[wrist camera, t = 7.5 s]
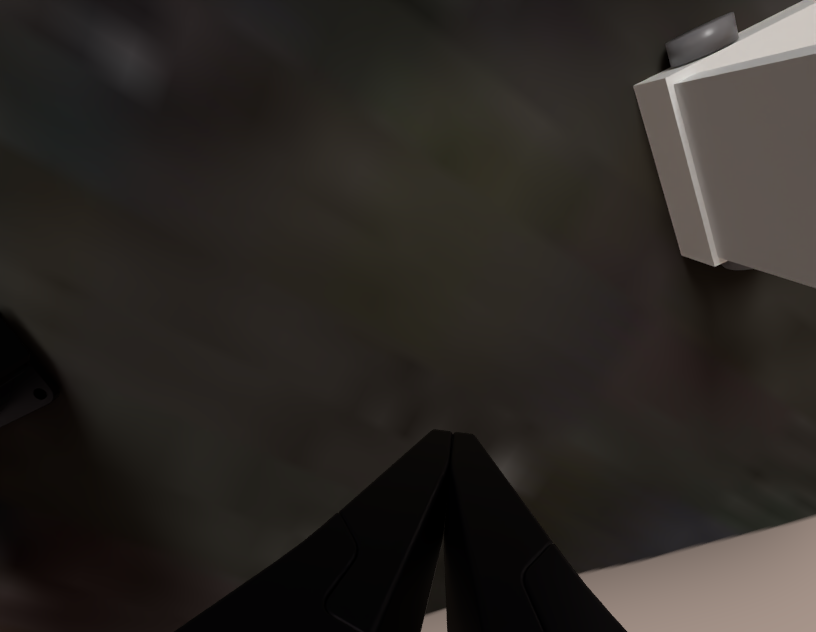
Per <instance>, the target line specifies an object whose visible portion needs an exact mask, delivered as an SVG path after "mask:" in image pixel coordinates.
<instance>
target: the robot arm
mask: <svg viewBox="0 0 816 632" xmlns="http://www.w3.org/2000/svg"><path fill="white" fill-rule="evenodd" d="M40 389H43V390H44V391H46V393H47V395H46V394H43V393H42V392H41V390H40ZM59 393H60V392H59V387H58V385H57V384H56V383H55V381H54V380H53V379H52V378H51V377H50V375H49V374H48V373H47V372H46V371H45V370H44V368H43V367H42V366H41V365H40V364H39V362H38V361H37V360H36V359H35V358H34V356H33V355H32V354H31V353H30V352H29V350H28V349H27V348H26V347H25V346H24V344H23V343H22V342H21V341H20V340H19V338H18V337H17V336H16V335H15V334H14V332H13V331H12V330H11V329H10V328H9V326H8V325H7V324H6V323H5V322H4V320H3V319H2V318H1V317H0V427H2V426H4V425H6V424H8V423H10V422H12V421H14V420H16V419H18V418H20V417H22V416H24V415H27V414H29V413H31V412H33V411H35V410H37V409H39V408H41V407H43V406H45V405H47V404H49V403H50V402H51V401H53V400H54V399H55V398H56V397H58V395H59ZM452 438H453V440H452ZM451 449H452V450H451ZM446 503H447V505H446ZM445 513H446V516H445ZM444 524H445V527H444ZM443 532H444V564H445V587H446V610H447V631H448V632H627V631H626V630H625V629H624V628H623V627H622V625H621V624H620V623H619V622H618V621H617V620H616V619H615V618H614V617H613V616H612V614H611V613H610V612H609V611H608V610H607V609H606V608H605V606H604V605H603V604H602V603H601V602H600V601H599V599H598V598H597V597H596V596H595V595H594V594H593V593H592V591H591V590H590V589H589V588H588V587H587V586H586V584H585V583H584V582H583V581H582V579H581V578H580V577H579V575H578V574H577V573H576V572H575V570H574V569H573V568H572V566H571V565H570V564H569V563H568V561H567V560H566V559H565V557H564V556H563V555H562V553H561V552H560V551H559V549H558V548H557V546H556V545H555V544H553V542H552V541H551V539H550V538H549V537H548V535H547V534H546V532H545V531H544V530H543V528H542V527H541V526H540V524H539V523H538V522H537V520H536V519H535V517H534V516H533V515H532V513H531V512H530V511H529V509H528V508H527V506H526V505H525V504H524V502H523V501H522V500H521V498H520V497H519V496H518V494H517V493H516V491H515V490H514V489H513V487H512V486H511V485H510V483H509V482H508V480H507V479H506V478H505V476H504V475H503V474H502V472H501V471H500V470H499V468H498V467H497V465H496V464H495V463H494V461H493V460H492V459H491V457H490V456H489V454H488V453H487V452H486V450H485V449H484V448H483V446H482V445H481V444H480V442H479V441H478V439H477V438H476V437H475V436H474V435H473V434H469V433H461V432H455V433H454V434H452V432H450V431H444V430H435V429H434V430H432V431H430V432H429V433H428V434H427V435H426V436H425V437H424V438H422V439H421V440H420V441H419V442H418V443H417V444H416V445H415V446H413V447H412V448H411V449H410V450H409V451H408V452H407V453H405V454H404V455H403V456H402V457H401V458H400V459H399V460H397V461H396V462H395V463H394V464H393V465H392V466H391V467H390V468H388V469H387V470H386V471H385V472H384V473H383V474H382V475H380V476H379V477H378V478H377V479H376V480H375V481H374V482H372V483H371V484H370V485H369V486H368V487H367V488H366V489H365V490H363V491H362V492H361V493H360V494H359V495H358V496H357V497H355V498H354V499H353V500H352V501H351V502H350V503H349V504H347V505H346V506H345V507H344V508H343V509H342V510H341V511H340V512H339V513H336V514H335V515H334V516H333V517H332V518H331V519H329V520H328V521H327V522H326V523H325V524H324V525H322V526H321V527H320V528H319V529H318V530H316V531H315V532H314V533H313V534H312V535H310V536H309V537H308V538H307V539H305V540H304V541H303V542H302V543H300V544H299V545H298V546H296V547H295V548H293V549H292V550H291V551H289V552H288V553H287V554H285V555H284V556H283V557H281V558H280V559H278V560H277V561H276V562H274V563H273V564H271V565H270V566H268V567H267V568H266V569H264V570H263V571H261V572H260V573H258V574H257V575H255V576H254V577H252V578H251V579H250V580H248V581H247V582H245V583H244V584H242V585H241V586H239V587H238V588H237V589H235V590H234V591H232V592H231V593H229V594H228V595H226V596H225V597H224V598H222V599H221V600H219V601H218V602H216V603H215V604H213V605H212V606H211V607H209V608H208V609H206V610H205V611H203V612H202V613H200V614H199V615H198V616H196V617H195V618H193V619H192V620H190V621H189V622H187V623H186V624H184V625H183V626H182V627H180V628H179V629H177V630H176V631H174V632H421V628H422V624H423V620H424V616H425V612H426V608H427V603H428V599H429V595H430V591H431V587H432V583H433V579H434V574H435V570H436V566H437V562H438V558H439V554H440V549H441V544H442V540H443Z"/></svg>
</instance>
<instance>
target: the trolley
mask: <svg viewBox="0 0 816 632" xmlns="http://www.w3.org/2000/svg"><path fill="white" fill-rule="evenodd" d="M665 46H666V49H667V53H668V57H669V61H670V65H671V67H670V68H668V69H666V70H664V71H662V72H660V73H658V74H656V75H654V76H652V77H650V78H648V79H646V80H644V81H642V82H640V83H638V84H636V85H634V86H633V87H634V91H635V94H636V98H637V101H638V105H639V108H640V112H641V115H642V119H643V122H644V126H645V129H646V133H647V136H648V140H649V143H650V147H651V150H652V154H653V157H654V161H655V164H656V168H657V171H658V175H659V178H660V182H661V185H662V189H663V192H664V196H665V199H666V203H667V206H668V210H669V213H670V217H671V220H672V224H673V227H674V231H675V235H676V238H677V242H678V245H679V249H680V252H681V255H682V256H685V257H688V258H691V259H693V260H696V261H699V262H702V263H705V264H708V265H711V266H714V267H716V266H718V265H720V264H722V266H723V267H724V268H726V269H730V270H749V269H756V270H760V271H763V272H766V273H769V274H772V275H775V276H779V277H782V278H785V279H788V280H791V281H794V282H798V283H801V284H804V285H807V286H810V287H814V288H816V0H803V1H801V2H799V3H797V4H795V5H793V6H791V7H789V8H787V9H785V10H783V11H781V12H779V13H777V14H775V15H773V16H771V17H769V18H767V19H765V20H763V21H761V22H759V23H757V24H755V25H753V26H751V27H749V28H747V29H745V30H743V31H741V32H740V33H738V31H737V26H736V21H735V16H734V12H731V13H728V14H725V15H723V16H720V17H718V18H716V19H713V20H711V21H709V22H707V23H705V24H702V25H700V26H698V27H696V28H694V29H692V30H690V31H688V32H686V33H684V34H682V35H680V36H678V37H676V38H674V39H672V40H670V41H669V42H667V43H666V44H665Z"/></svg>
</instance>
